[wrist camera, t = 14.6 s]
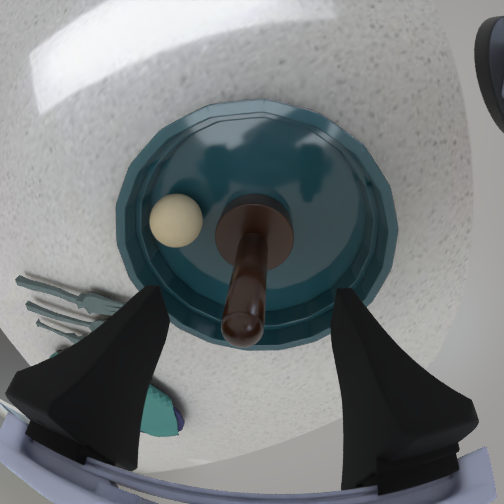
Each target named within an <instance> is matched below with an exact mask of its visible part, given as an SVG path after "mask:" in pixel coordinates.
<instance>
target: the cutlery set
mask: <svg viewBox="0 0 504 504" xmlns="http://www.w3.org/2000/svg"><path fill="white" fill-rule="evenodd" d="M15 280H16V283H17V285H18V286H22V287H25V288H28V289H31V290H36V291H40V292H44V293H47V294H51V295H54V296H58V297H60V298H63V299H65V300H67V301H70V302H73V303H75V304H77V306H78V308H85V309H86V310H87V312H88V313H89V314H91V313H99V314H104V315H111V316H112V315H113V314H114V313H116V312H117V311H118V310H119V309H120V308H121V307H122V306H123V305H125V304H126V303H122V302H119V301H115V300H111V299H108V298H106V297H103V296H101V295H98V294H95V293H92V292H88V293H87V294H84V293H81V294H80V295H79V296H76V295H74V294H71V293H69V292H66V291H64V290H62V289H60V288H57V287H54V286H51V285H48V284H45V283H41V282H37V281H33V280H30V279H27V278H25V277H23V276H20V275H19V276H18V277H17V278H16V279H15ZM25 305H26V307H27V309H28V310H29V311H32V312H35V313H38V314H41V315H44V316H47V317H50V318H53V319H56V320H60V321H65V322H69V323H73V324H77V325H82V326H87V327H89V328H90V330H91V331H92V332H93V331H94V330H95V329H97V328H98V327H99V326H100V325H101V324H103V323H104V322H105V321H106V320H101V319H99V320H97V321H94V322H86V321H82V320H78V319H75V318H71V317H68V316H65V315H61V314H58V313H55V312H53V311H50V310H48V309H45V308H43V307H40V306H38V305H36V304H34V303H32V302H30V301H28V302H27V303H26V304H25ZM36 324H37V326H38V327H39V326H40V327H43V328H46V329H48V330H51V331H53V332H55V333H57V334H59V335H61V336H64V337H66V338H68V339H69V340H70V341H71V342H73V343H74V344H75V343H77V342H79V341H80V340H82V339H83V338H84V337H85V335H84V334H83V335H82V336H79V337H78V336H77V335H76V334H75V333H64V332H61V331H59V330H56V329H53V328H51V327H49V326H47V325H45V324H43V323H41V322H40V321H39V319H38V321H37V322H36ZM58 351H61V350H58ZM58 351H57V352H58ZM57 352H56V353H54V354H53V355H51V356H50V358H51V357H53V356H55V355H57V354H58V353H57ZM183 426H184V420H183V418H182V416H181V414H180V412H179V411H178V410H177V409H176V408H175V407H174V406H173V404H172V400H171V399H170V398H169V396H168V395H166V394H164V393H163V392H161V391H160V390H158V389H156V388H155V387H154V386H152V385H151V384H150V385H149V388H148V392H147V396H146V401H145V405H144V410H143V416H142V422H141V429H140V432H143V433H147V434H149V435H152V436H157V437H167V436H176V435H179V434H178V432H179V431H181V430H182V429H183Z"/></svg>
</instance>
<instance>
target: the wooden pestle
mask: <svg viewBox="0 0 504 504" xmlns="http://www.w3.org/2000/svg"><path fill="white" fill-rule="evenodd" d="M215 242H216V246H217V249H218V251H219V253H220V254H221V256H222V257H223V258H224V259H225V260H226V261H227V262H228V263H229V264H231V265H232V266H233V270H232V275H231V280H230V284H229V289H228V293H227V298H226V303H225V307H224V312H223V317H222V322H221V331H222V334H223V337H224V338H225V340H226V341H227V342H228V343H229V344H231V345H233V346H235V347H238V348H247V347H251V346H253V345H254V344H256V343H257V342H258V341H259V340H260V339H261V337H262V335H263V332H264V322H265V303H266V284H267V271H268V270H271V269H274V268H275V267H277V266H279V265H280V264H282V263H283V262H284V261H285V260H286V259H287V257H288V256H289V254H290V253H291V251H292V248H293V244H294V233H293V225H292V220H291V217H290V215H289V213H288V211H287V210H286V208H285V207H284V206H283V205H282V204H281V203H280V202H278V201H277V200H275V199H273V198H271V197H269V196H266V195H261V194H248V195H244V196H241V197H238V198H236V199H234V200H233V201H231V202H230V203H229V204H228V205H227V206H226V207H225V209H224V210H223V212H222V214H221V216H220V219H219V221H218V224H217V226H216V230H215Z"/></svg>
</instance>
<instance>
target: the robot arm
mask: <svg viewBox="0 0 504 504" xmlns="http://www.w3.org/2000/svg"><path fill="white" fill-rule="evenodd" d="M501 94H502V97H503V99H504V80H503V86H502V91H501ZM169 324H170V318H169V315H168V312H167V308H166V305H165V302H164V299H163V295H162V292H161V289H160V286H158V285H146V286H145V287H144V288H143V289H141V290H140V291H139V292H138V293H137V294H136V295H134V296H133V297H132V298H131V299H130V300H129V301H128V302H127V303H126V304H125V305H123V306H122V307H121V308H120V309H119V310H118V311H117V312H116V313H114V314H113V315H112V316H111V317H110V318H109V319H107V320H106V321H105V322H104V323H103V324H101V325H100V326H99V327H98V328H97V329H95V330H94V331H93V332H91V333H90V334H89V335H87V336H86V337H84V338H83V339H82V340H80V341H79V342H77V343H76V344H74V345H72V346H71V347H69V348H67V349H66V350H64V351H62V352H61V353H59V354H57V355H55V356H53V357H51V358H49V359H47V360H45V361H43V362H41V363H39V364H36V365H34V366H31V367H29V368H26V369H23V370H21V371H18V372H17V373H16V374H15V376H14V378H13V380H12V382H11V383H10V386H9V387H8V389H7V391H6V393H5V394H6V396H7V398H8V399H9V401H10V402H11V403H12V404H13V405H14V406H15V407H16V408H17V409H18V410H20V411H21V412H22V413H23V414H24V415H25V416H26V417H27V418H29V419H30V420H31V421H30V423H29V425H28V424H27V423H25V422H24V421H22V420H21V419H19V418H17V417H16V416H14V415H13V414H11V413H8V414H7V416H6V418H5V420H4V422H3V425H2V427H1V429H0V462H2V463H3V464H4V465H5V466H6V467H8V468H9V469H10V470H11V471H12V472H14V473H15V474H16V475H17V476H19V477H20V478H21V479H22V480H23V481H25V482H26V483H27V484H28V485H30V486H31V487H32V488H33V489H35V490H36V491H37V492H39V493H40V494H41V495H43V496H44V497H46V498H47V499H48V500H50V501H51V502H53V503H54V504H158V503H156V502H152V501H149V500H147V499H144V498H142V497H140V496H138V495H135V494H132V493H129V492H127V491H124V490H121V489H119V488H118V486H117V485H116V484H118V485H121V486H124V487H127V488H130V489H133V490H136V491H139V492H143V493H146V494H150V495H153V496H158V497H161V498H165V499H170V500H174V501H179V502H183V503H189V504H488V503H490V502H492V501H493V500H495V499H496V498H497V495H496V488H495V482H494V477H493V472H492V467H491V463H490V458H489V454H488V450H487V447H483V448H480V449H478V450H476V451H474V452H471V453H469V454H466V455H464V456H462V457H460V458H458V459H457V456H456V453H457V452H459V445H458V442H459V441H461V440H462V439H463V438H464V437H466V436H467V435H468V434H469V433H471V432H472V431H473V430H474V429H475V428H476V427H477V425H478V423H479V420H478V417H477V413H476V410H475V407H474V405H473V402H472V400H471V399H469V398H467V397H465V396H464V395H462V394H460V393H458V392H456V391H455V390H453V389H451V388H450V387H448V386H447V385H445V384H444V383H442V382H441V381H439V380H438V379H436V378H435V377H434V376H433V375H431V374H430V373H429V372H427V371H426V370H425V369H424V368H422V367H421V366H420V365H419V364H418V363H416V362H415V361H414V360H413V359H412V358H411V357H410V356H409V355H408V354H407V353H406V352H404V351H403V350H402V349H401V348H400V347H399V346H398V345H397V344H396V342H395V341H394V340H393V339H392V338H391V337H390V336H389V335H388V334H387V332H386V331H385V330H384V329H383V328H382V326H381V325H380V324H379V323H378V322H377V320H376V319H375V318H374V317H373V315H372V314H371V313H370V311H369V310H368V309H367V307H366V306H365V305H364V304H363V302H362V301H361V299H360V298H359V297H358V295H357V294H356V293H355V291H354V290H353V289H352V288H337V291H336V296H335V302H334V307H333V312H332V317H331V322H330V329H331V341H332V349H333V354H334V359H335V364H336V369H337V374H338V379H339V385H340V390H341V397H342V409H343V434H344V437H343V438H344V439H343V440H344V441H343V471H342V483H341V491H333V492H324V493H309V494H252V493H238V492H227V491H218V490H210V489H204V488H197V487H191V486H186V485H181V484H176V483H171V482H167V481H162V480H158V479H154V478H150V477H147V476H143V475H139V474H136V473H133V472H129V471H133V470H135V469H136V468H137V465H138V446H139V437H140V429H141V422H142V416H143V410H144V405H145V401H146V396H147V392H148V388H149V385H150V382H151V379H152V376H153V373H154V371H155V368H156V365H157V363H158V360H159V357H160V355H161V352H162V349H163V346H164V344H165V341H166V337H167V333H168V328H169ZM108 464H109V465H108ZM111 465H112V466H111ZM114 466H115V467H114ZM117 467H118V468H117ZM120 468H121V469H120ZM123 469H125V470H123ZM126 470H128V471H126Z"/></svg>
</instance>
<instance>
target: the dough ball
mask: <svg viewBox="0 0 504 504" xmlns="http://www.w3.org/2000/svg"><path fill="white" fill-rule="evenodd" d="M202 224H203V217H202V212H201V209H200V207H199V206H198V204H197V203H196V202H195V201H194V200H193V199H192V198H190V197H189V196H186V195H184V194H170V195H166V196H164V197H163V198H161V199H160V200H159V201H158V202H157V203H156V204H155V205H154V207H153V208H152V211H151V214H150V228H151V231H152V233H153V235H154V236H155V238H156V239H157V240H158V241H159V242H160V243H162V244H164V245H166V246H169V247H183V246H186V245H188V244H190V243H191V242H192V241H194V240H195V239H196V238H197V236H198V235H199V233H200V231H201V228H202Z"/></svg>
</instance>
